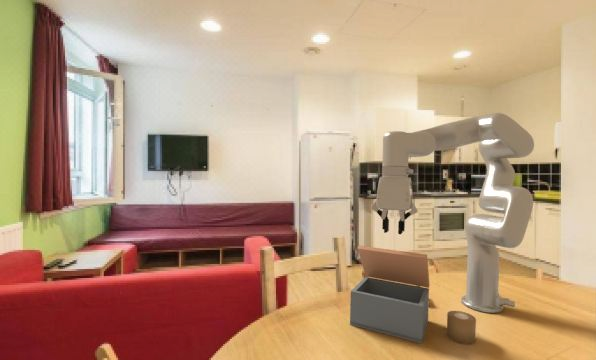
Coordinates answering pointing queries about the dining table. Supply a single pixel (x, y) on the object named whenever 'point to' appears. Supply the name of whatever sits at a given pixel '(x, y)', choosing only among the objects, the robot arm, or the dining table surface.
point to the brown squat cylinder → (461, 327)
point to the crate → (390, 308)
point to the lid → (395, 265)
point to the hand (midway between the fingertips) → (393, 232)
